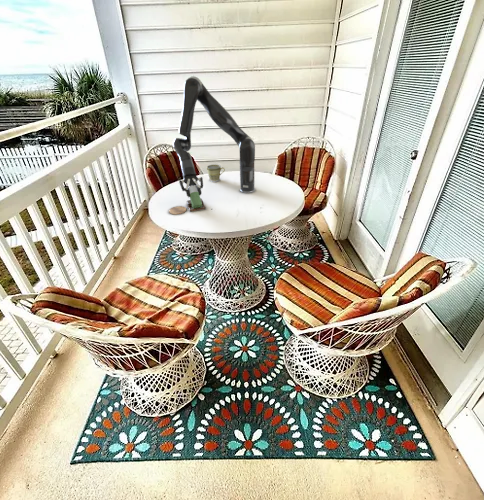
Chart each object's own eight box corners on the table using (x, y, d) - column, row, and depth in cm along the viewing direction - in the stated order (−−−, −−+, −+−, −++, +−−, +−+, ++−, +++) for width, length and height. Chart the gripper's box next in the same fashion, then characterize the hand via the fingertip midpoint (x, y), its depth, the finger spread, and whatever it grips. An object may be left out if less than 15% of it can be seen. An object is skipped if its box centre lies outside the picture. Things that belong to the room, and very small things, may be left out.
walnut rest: (187, 204, 165) (186, 200, 163) (201, 202, 167) (201, 198, 166) (190, 211, 157) (189, 207, 156) (205, 209, 159) (205, 204, 158)
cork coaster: (175, 206, 164) (175, 205, 164) (189, 208, 161) (189, 207, 161) (165, 213, 157) (165, 212, 157) (180, 215, 154) (180, 214, 153)
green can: (189, 205, 166) (186, 184, 160) (199, 203, 167) (196, 183, 161) (193, 212, 156) (190, 190, 149) (203, 210, 157) (200, 189, 151)
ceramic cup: (206, 182, 195) (204, 168, 190) (209, 177, 203) (208, 164, 198) (224, 183, 193) (223, 169, 188) (226, 178, 201) (226, 164, 196)
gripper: (175, 168, 156) (182, 195, 153) (200, 164, 159) (207, 191, 157) (176, 174, 163) (182, 200, 160) (199, 171, 166) (206, 196, 164)
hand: (194, 195), depth 158 cm, fingers closed on green can, 6 cm apart
